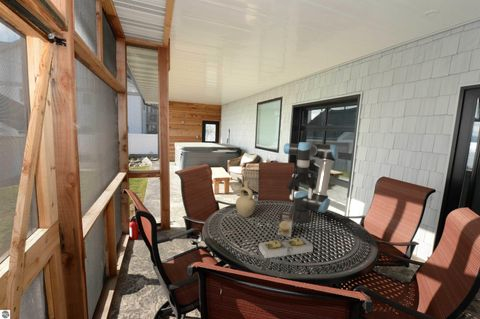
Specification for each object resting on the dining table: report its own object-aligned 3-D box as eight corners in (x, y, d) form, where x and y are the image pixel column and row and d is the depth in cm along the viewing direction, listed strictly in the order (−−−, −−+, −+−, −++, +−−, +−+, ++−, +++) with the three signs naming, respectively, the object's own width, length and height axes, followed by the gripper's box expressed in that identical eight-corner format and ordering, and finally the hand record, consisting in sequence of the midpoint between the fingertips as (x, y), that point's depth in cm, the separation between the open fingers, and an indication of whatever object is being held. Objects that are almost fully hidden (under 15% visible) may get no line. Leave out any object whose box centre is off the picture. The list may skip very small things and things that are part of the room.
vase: (231, 215, 191) (232, 180, 187) (245, 210, 202) (247, 178, 198) (244, 221, 179) (246, 184, 175) (259, 216, 190) (261, 181, 186)
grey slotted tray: (303, 243, 147) (303, 237, 146) (312, 251, 137) (313, 245, 137) (258, 249, 138) (259, 243, 137) (265, 258, 128) (265, 251, 128)
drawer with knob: (276, 249, 138) (277, 239, 138) (280, 253, 134) (280, 243, 133) (268, 250, 137) (269, 240, 136) (272, 254, 132) (272, 244, 132)
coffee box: (277, 234, 158) (279, 212, 156) (279, 231, 164) (280, 209, 162) (290, 237, 155) (292, 214, 153) (292, 233, 161) (293, 211, 159)
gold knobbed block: (297, 246, 143) (298, 237, 142) (302, 251, 138) (303, 241, 137) (290, 247, 141) (291, 238, 140) (295, 252, 136) (295, 242, 136)
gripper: (316, 165, 152) (313, 196, 155) (282, 165, 145) (280, 197, 147) (323, 167, 145) (320, 199, 147) (288, 167, 137) (286, 201, 140)
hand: (300, 198), depth 147 cm, fingers open, 13 cm apart
